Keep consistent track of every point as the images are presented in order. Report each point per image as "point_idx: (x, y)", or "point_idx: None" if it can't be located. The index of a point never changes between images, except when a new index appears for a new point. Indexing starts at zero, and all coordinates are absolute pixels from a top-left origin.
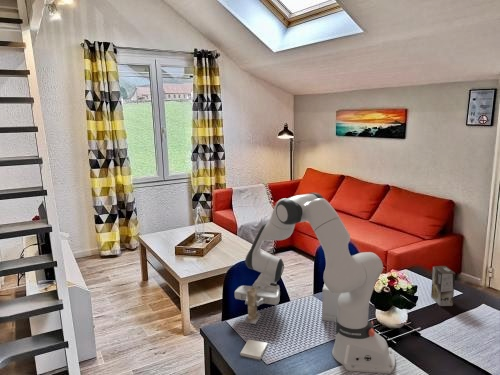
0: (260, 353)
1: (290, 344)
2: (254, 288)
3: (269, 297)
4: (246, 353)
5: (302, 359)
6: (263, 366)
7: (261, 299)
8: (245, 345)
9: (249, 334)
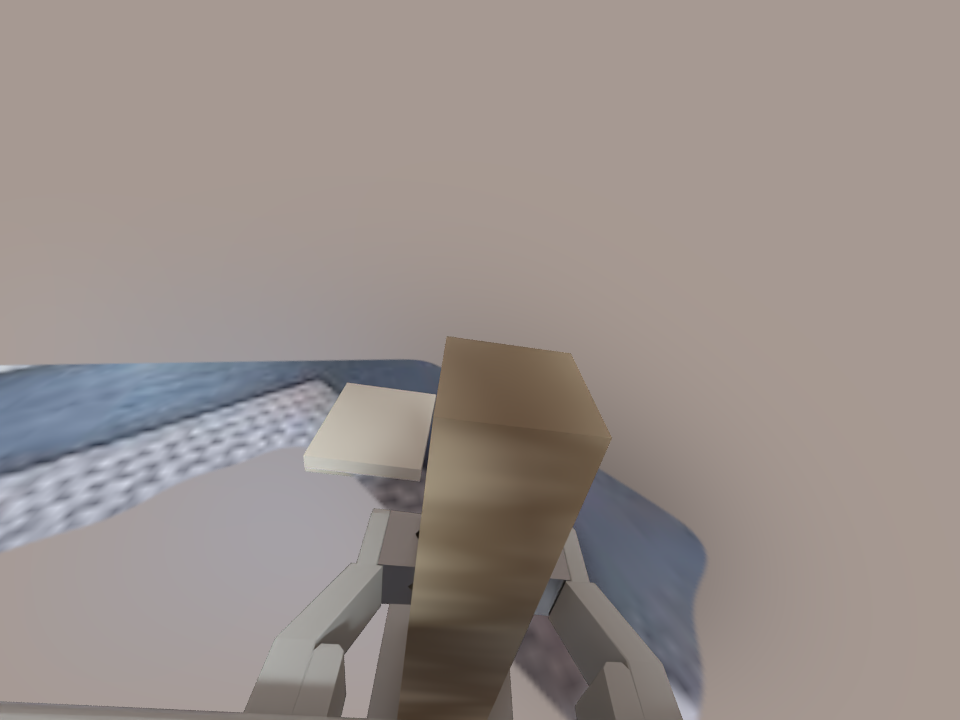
0: (346, 396)
1: (132, 495)
2: (484, 416)
3: (59, 707)
4: (409, 393)
5: (126, 404)
6: (334, 371)
7: (313, 611)
8: (425, 429)
9: None
